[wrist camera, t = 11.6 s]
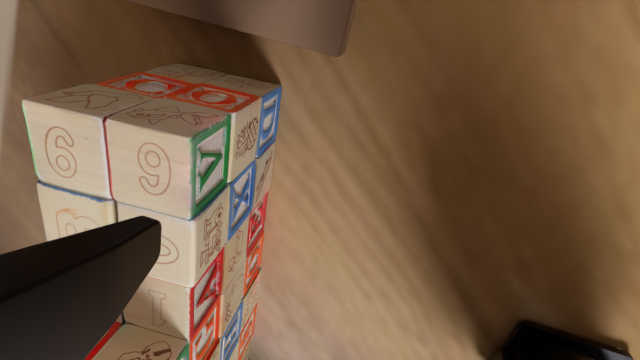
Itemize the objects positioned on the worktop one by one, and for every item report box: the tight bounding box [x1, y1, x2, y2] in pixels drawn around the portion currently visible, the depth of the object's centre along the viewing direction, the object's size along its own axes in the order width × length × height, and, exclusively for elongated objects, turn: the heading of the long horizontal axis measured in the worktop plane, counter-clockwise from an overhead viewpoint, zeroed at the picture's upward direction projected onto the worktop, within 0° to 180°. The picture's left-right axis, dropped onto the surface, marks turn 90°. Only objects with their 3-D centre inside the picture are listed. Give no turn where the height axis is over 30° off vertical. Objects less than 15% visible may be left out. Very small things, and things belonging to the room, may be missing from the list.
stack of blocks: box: [22, 64, 282, 360], centre depth 19 cm, size 21×6×12 cm, turn 171°
